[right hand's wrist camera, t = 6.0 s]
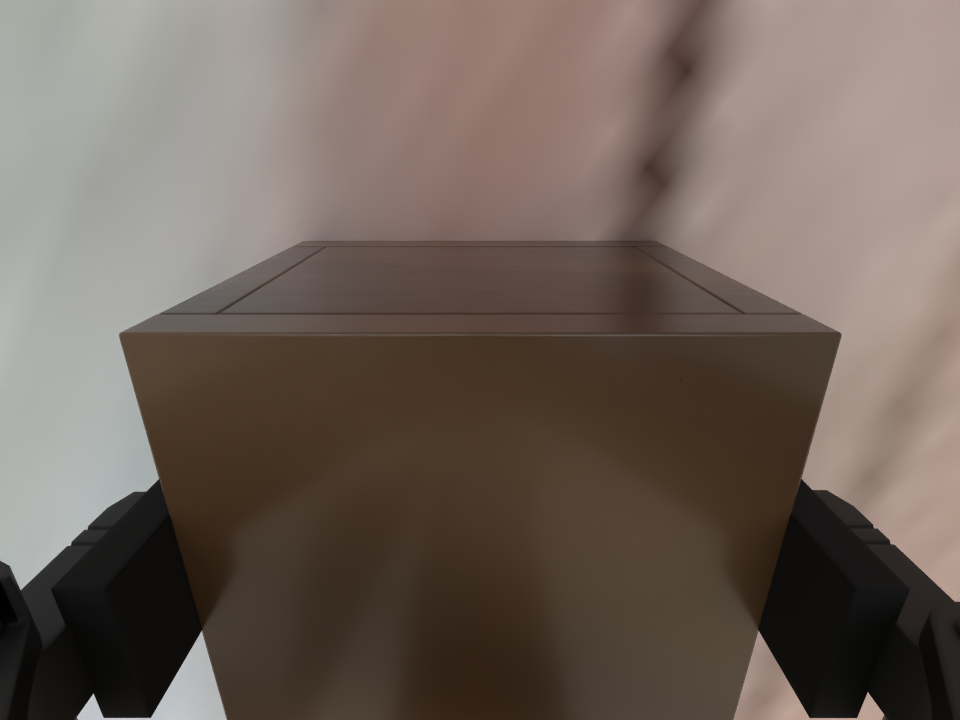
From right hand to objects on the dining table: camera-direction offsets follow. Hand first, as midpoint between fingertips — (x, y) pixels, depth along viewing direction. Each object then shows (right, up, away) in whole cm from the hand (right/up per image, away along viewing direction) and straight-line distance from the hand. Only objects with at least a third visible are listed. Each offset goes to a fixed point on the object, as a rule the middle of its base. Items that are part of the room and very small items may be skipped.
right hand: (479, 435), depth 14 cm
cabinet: (0, -2, +4) cm, 5 cm away
